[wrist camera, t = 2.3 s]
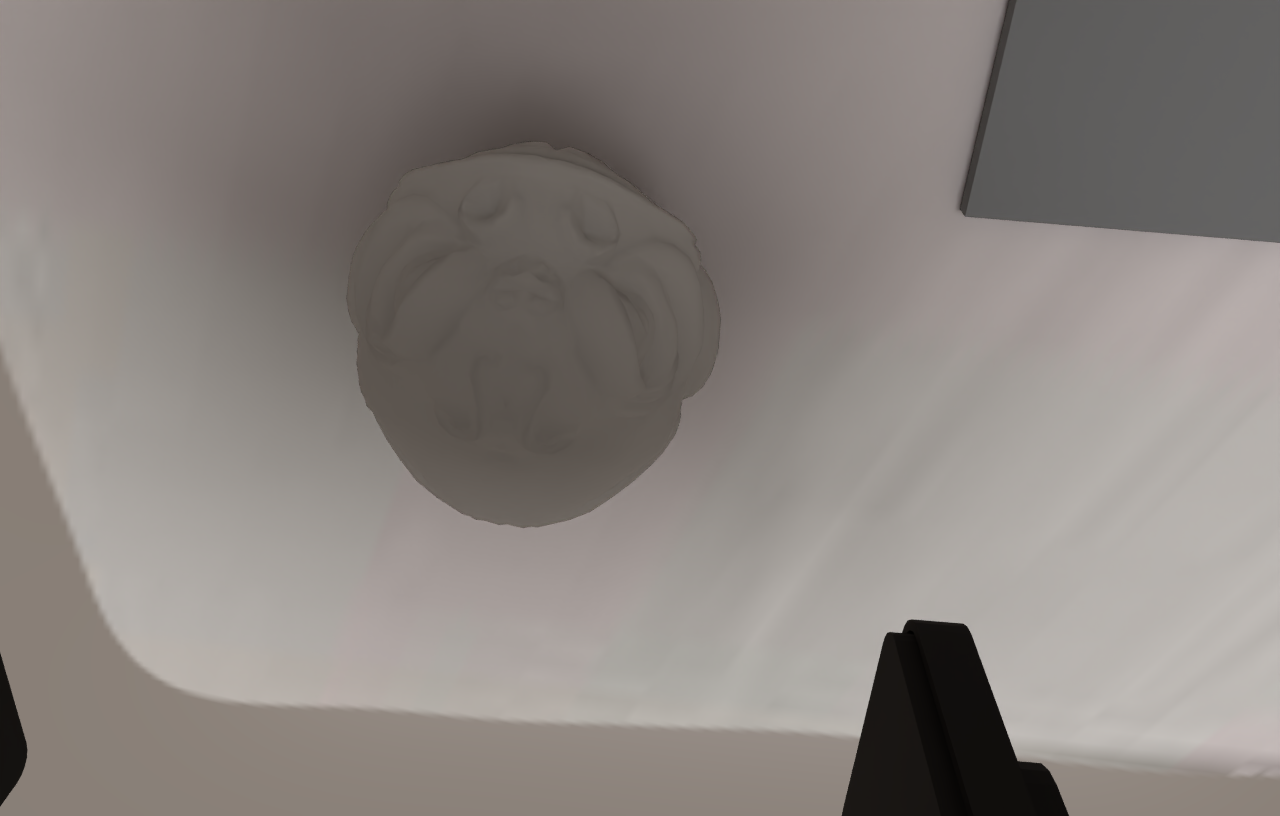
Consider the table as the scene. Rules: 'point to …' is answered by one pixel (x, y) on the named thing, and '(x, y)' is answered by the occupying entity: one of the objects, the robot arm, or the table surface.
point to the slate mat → (1134, 118)
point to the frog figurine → (528, 330)
